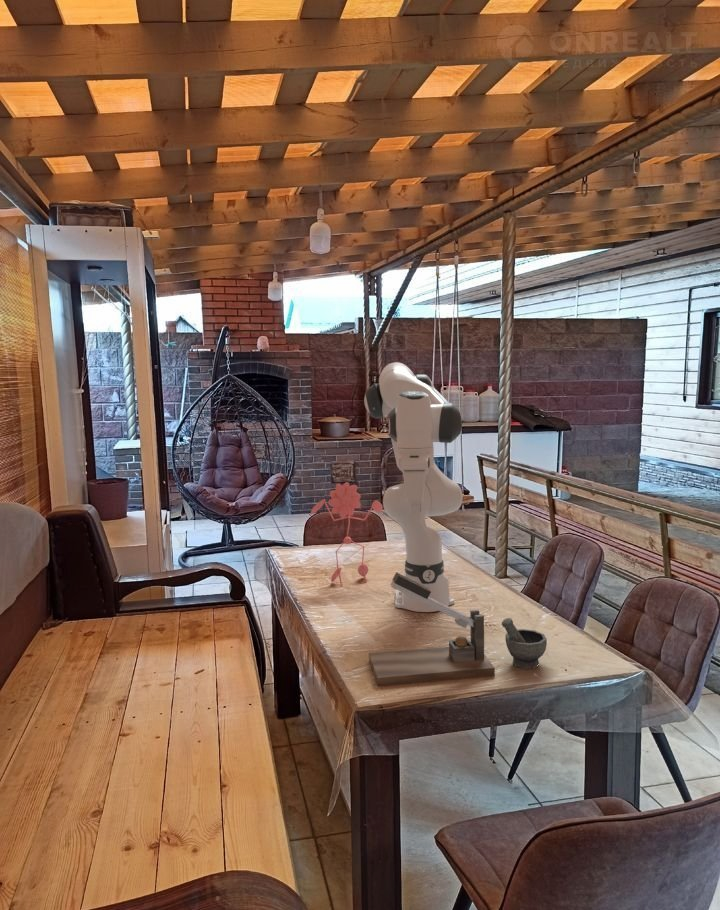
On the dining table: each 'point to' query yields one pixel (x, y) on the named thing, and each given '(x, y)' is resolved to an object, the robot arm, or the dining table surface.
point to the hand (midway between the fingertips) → (417, 515)
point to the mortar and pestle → (524, 645)
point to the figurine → (345, 504)
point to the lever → (428, 599)
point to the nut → (461, 641)
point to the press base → (435, 661)
